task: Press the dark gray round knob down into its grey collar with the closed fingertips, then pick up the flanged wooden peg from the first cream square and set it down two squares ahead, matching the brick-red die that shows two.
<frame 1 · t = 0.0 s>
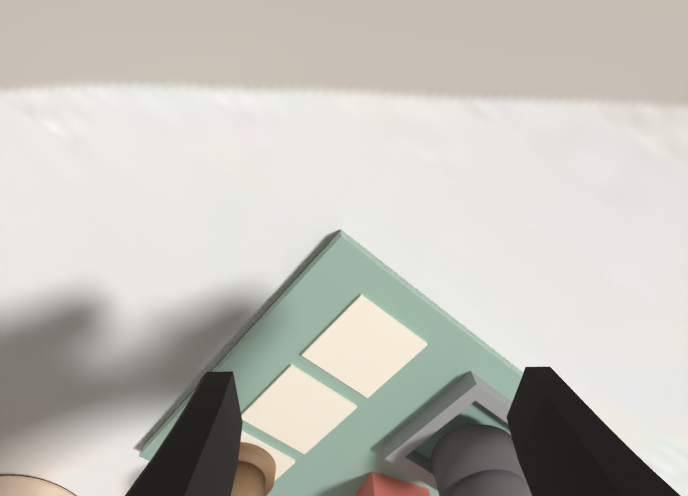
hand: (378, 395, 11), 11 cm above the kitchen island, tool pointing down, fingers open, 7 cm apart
dark gray round knob: (487, 494, 22), point 4 cm above the kitchen island, slide at 0.0 cm
flanged wooden peg: (240, 467, 25), point 1 cm above the kitchen island, touching board
board: (357, 426, 26), on the kitchen island
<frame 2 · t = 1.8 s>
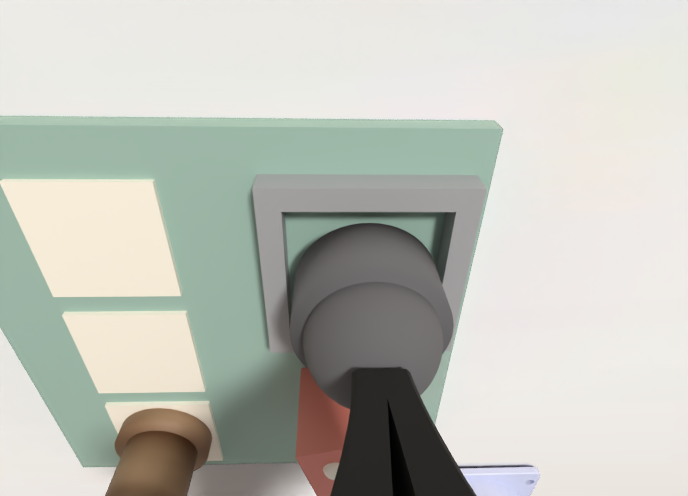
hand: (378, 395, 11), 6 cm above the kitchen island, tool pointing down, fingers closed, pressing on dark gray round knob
dark gray round knob: (371, 332, 13), point 4 cm above the kitchen island, slide at 0.2 cm, touching gripper
flanged wooden peg: (167, 435, 21), point 1 cm above the kitchen island, touching board
board: (240, 329, 18), on the kitchen island
die: (356, 388, 19), resting on board
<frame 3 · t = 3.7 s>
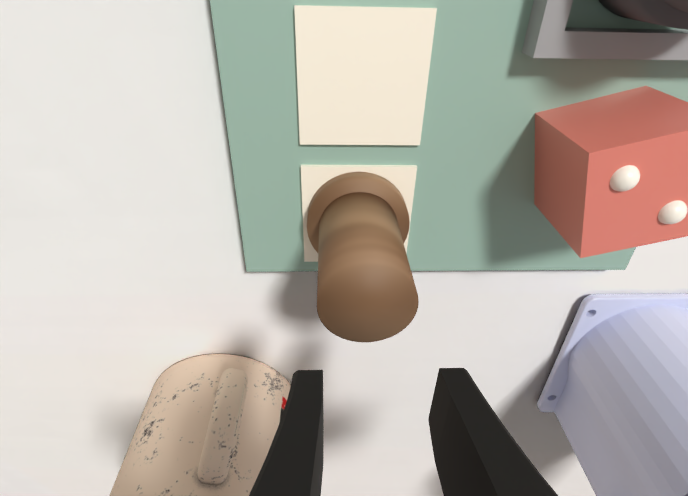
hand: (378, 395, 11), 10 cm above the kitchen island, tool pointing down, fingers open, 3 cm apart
teacup with lid: (231, 381, 26), on the kitchen island
flanged wooden peg: (357, 217, 18), point 1 cm above the kitchen island, touching board
board: (469, 62, 16), on the kitchen island
die: (585, 149, 17), resting on board
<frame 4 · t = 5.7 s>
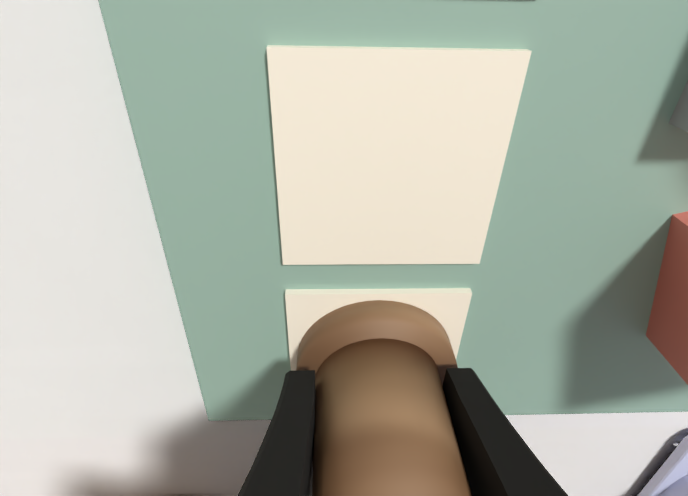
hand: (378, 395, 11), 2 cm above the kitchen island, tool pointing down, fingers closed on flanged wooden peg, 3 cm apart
flanged wooden peg: (373, 358, 12), point 1 cm above the kitchen island, touching board, gripper
board: (567, 133, 9), on the kitchen island
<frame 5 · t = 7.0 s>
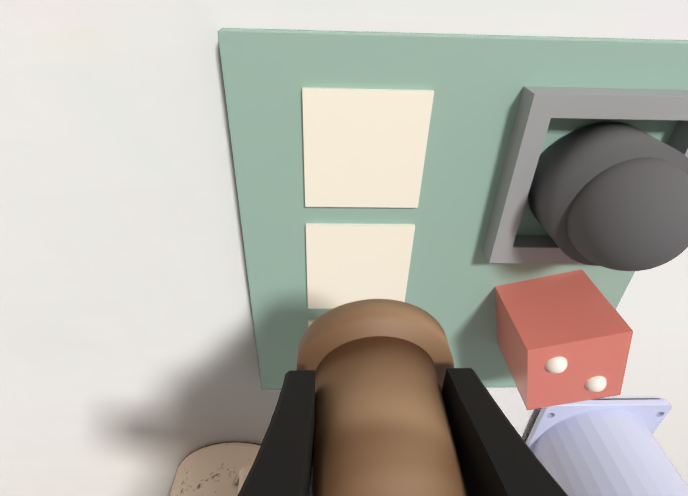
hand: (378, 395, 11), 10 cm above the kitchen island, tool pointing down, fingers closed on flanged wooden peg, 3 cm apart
dark gray round knob: (622, 209, 15), point 3 cm above the kitchen island, slide at 1.0 cm
teacup with lid: (244, 460, 30), on the kitchen island
flanged wooden peg: (372, 354, 12), point 8 cm above the kitchen island, touching gripper
board: (443, 248, 20), on the kitchen island
die: (537, 308, 21), resting on board
when the fingers open (3 cm above the kitchen island, at t = 8.7 s): flanged wooden peg stays where it is, resting on board.
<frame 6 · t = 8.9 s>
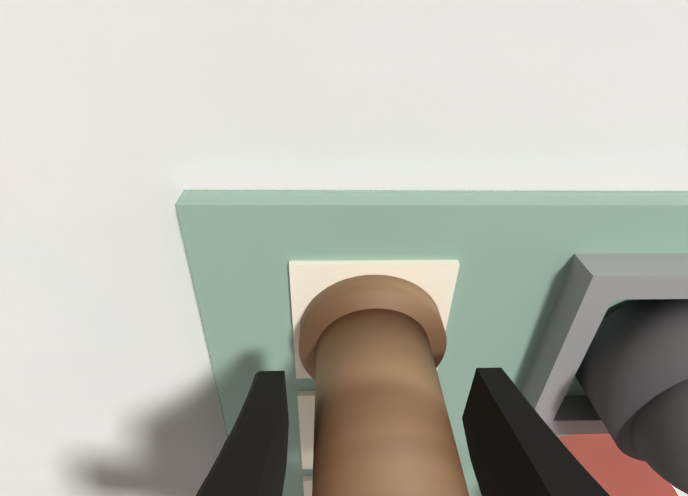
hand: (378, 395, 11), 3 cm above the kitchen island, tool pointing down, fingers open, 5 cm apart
flanged wooden peg: (370, 329, 13), point 1 cm above the kitchen island, touching board
board: (464, 400, 17), on the kitchen island
die: (575, 460, 18), resting on board
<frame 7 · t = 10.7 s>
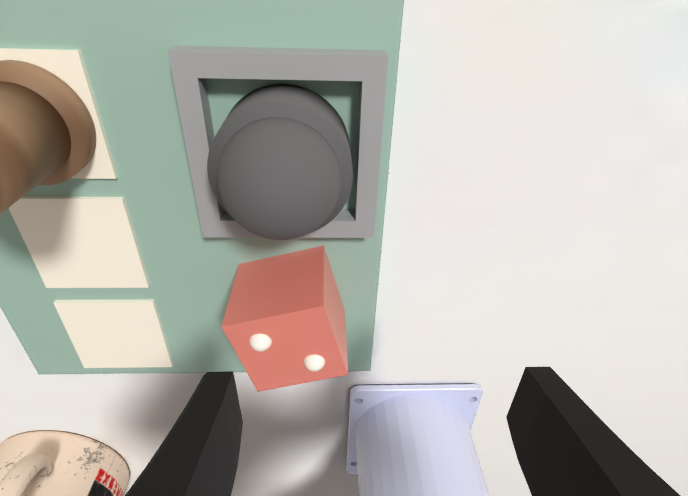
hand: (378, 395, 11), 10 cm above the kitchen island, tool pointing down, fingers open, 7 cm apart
dark gray round knob: (281, 175, 14), point 3 cm above the kitchen island, slide at 1.0 cm
teacup with lid: (66, 450, 29), on the kitchen island
flanged wooden peg: (34, 122, 15), point 1 cm above the kitchen island, touching board
board: (180, 224, 19), on the kitchen island
die: (294, 287, 20), resting on board
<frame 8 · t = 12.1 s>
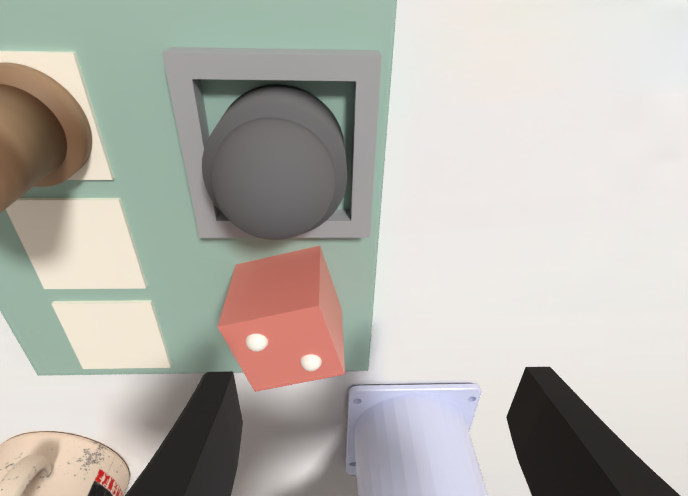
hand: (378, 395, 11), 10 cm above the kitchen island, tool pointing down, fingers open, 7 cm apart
dark gray round knob: (275, 175, 14), point 3 cm above the kitchen island, slide at 1.0 cm
teacup with lid: (66, 451, 29), on the kitchen island
flanged wooden peg: (30, 124, 15), point 1 cm above the kitchen island, touching board
board: (177, 225, 19), on the kitchen island
die: (291, 288, 20), resting on board
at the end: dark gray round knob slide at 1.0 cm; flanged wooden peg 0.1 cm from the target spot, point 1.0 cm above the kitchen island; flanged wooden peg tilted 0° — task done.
